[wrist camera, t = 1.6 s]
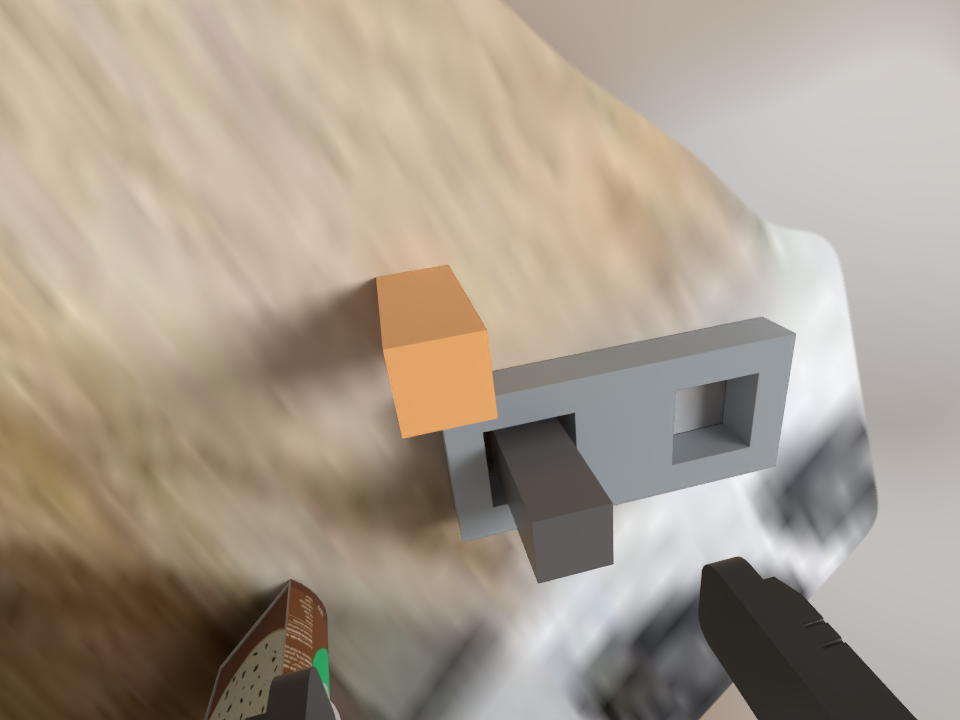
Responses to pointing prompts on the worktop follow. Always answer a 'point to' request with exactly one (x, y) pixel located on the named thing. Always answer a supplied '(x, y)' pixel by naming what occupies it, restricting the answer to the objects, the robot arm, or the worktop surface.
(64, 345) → the worktop surface
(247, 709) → the food container
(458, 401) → the orange plug
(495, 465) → the slate power strip
